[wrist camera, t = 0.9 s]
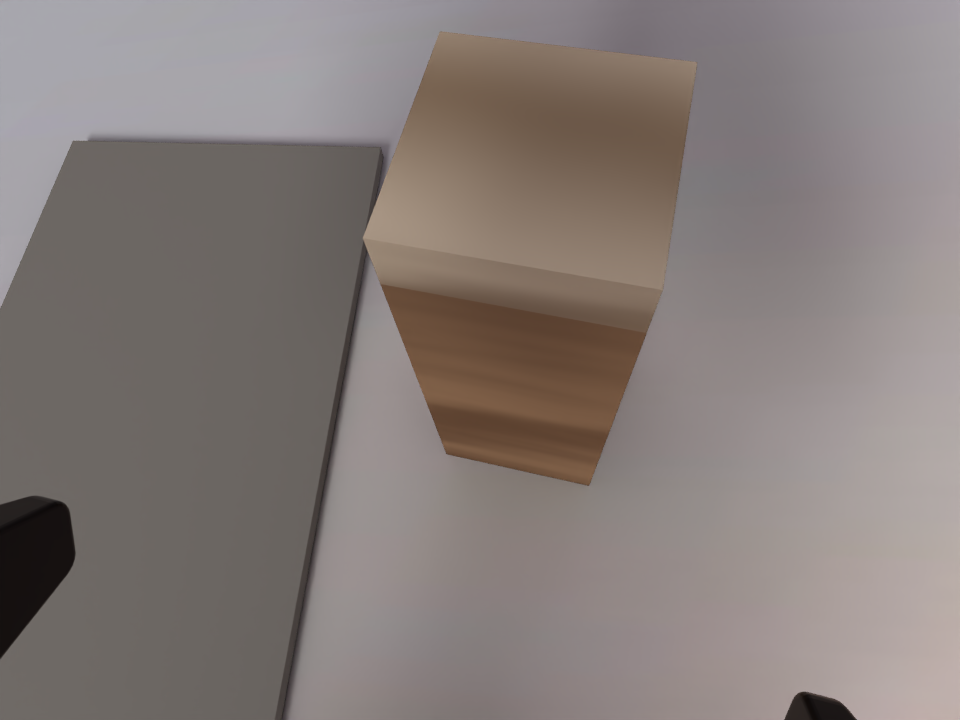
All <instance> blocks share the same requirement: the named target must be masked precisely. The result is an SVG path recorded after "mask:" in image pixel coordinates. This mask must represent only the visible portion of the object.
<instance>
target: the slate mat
mask: <svg viewBox="0 0 960 720" xmlns="http://www.w3.org/2000/svg"><path fill="white" fill-rule="evenodd" d="M382 162H383V154H382V150H381V147H342V146H295V145H249V144H202V143H155V142H108V141H73V142H72V144H71V147H70V149H69V151H68V153H67V156H66V158H65V160H64V163H63V165H62V167H61V170H60V172H59V174H58V177H57V179H56V181H55V184H54V186H53V188H52V190H51V193H50V195H49V197H48V200H47V202H46V204H45V207H44V209H43V211H42V214H41V216H40V218H39V221H38V223H37V225H36V228H35V230H34V232H33V234H32V237H31V239H30V241H29V244H28V246H27V248H26V251H25V253H24V255H23V258H22V260H21V262H20V265H19V267H18V269H17V271H16V274H15V276H14V278H13V281H12V283H11V285H10V288H9V290H8V292H7V295H6V297H5V299H4V302H3V304H2V306H1V309H0V504H4V503H7V502H11V501H14V500H18V499H21V498H25V497H28V496H42V497H46V498H50V499H54V500H58V501H61V502H63V503H65V504H66V505H67V507H68V508H69V510H70V515H71V522H72V529H73V536H74V543H75V550H76V556H75V561H74V564H73V566H72V568H71V570H70V572H69V573H68V575H67V576H66V577H65V578H64V580H63V581H62V582H61V583H60V585H59V586H58V587H57V588H56V590H55V591H54V592H53V593H52V595H51V596H50V597H49V599H48V600H47V601H46V602H45V604H44V605H43V606H42V607H41V609H40V610H39V611H38V612H37V614H36V615H35V616H34V617H33V619H32V620H31V621H30V623H29V624H28V625H27V626H26V628H25V629H24V630H23V631H22V633H21V634H20V635H19V636H18V638H17V639H16V640H15V641H14V643H13V644H12V645H11V646H10V648H9V649H8V650H7V652H6V653H5V654H4V655H3V657H2V658H1V659H0V720H281V719H282V713H283V708H284V702H285V697H286V691H287V686H288V680H289V675H290V669H291V664H292V658H293V653H294V647H295V642H296V636H297V631H298V625H299V620H300V614H301V609H302V603H303V597H304V592H305V586H306V581H307V575H308V570H309V564H310V559H311V553H312V548H313V542H314V537H315V531H316V526H317V520H318V515H319V509H320V504H321V498H322V493H323V487H324V482H325V476H326V471H327V465H328V460H329V454H330V449H331V443H332V438H333V432H334V427H335V421H336V416H337V410H338V405H339V399H340V393H341V388H342V382H343V377H344V371H345V366H346V360H347V355H348V349H349V344H350V338H351V333H352V327H353V322H354V316H355V311H356V305H357V300H358V294H359V289H360V283H361V278H362V272H363V267H364V261H365V256H366V250H367V248H366V245H365V243H364V240H363V236H364V233H365V231H366V228H367V225H368V223H369V220H370V217H371V215H372V212H373V209H374V206H375V200H376V195H377V189H378V184H379V178H380V173H381V167H382Z"/></svg>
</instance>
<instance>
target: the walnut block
mask: <svg viewBox="0 0 960 720" xmlns="http://www.w3.org/2000/svg"><path fill="white" fill-rule="evenodd" d="M696 68H697V62H691V61H683V60H675V59H666V58H658V57H650V56H641V55H633V54H624V53H616V52H608V51H599V50H591V49H583V48H574V47H566V46H557V45H549V44H541V43H532V42H524V41H516V40H507V39H499V38H491V37H482V36H474V35H465V34H457V33H449V32H440V33H439V35H438V38H437V41H436V44H435V46H434V49H433V52H432V54H431V57H430V60H429V62H428V65H427V68H426V70H425V73H424V76H423V78H422V81H421V84H420V86H419V89H418V92H417V94H416V97H415V100H414V102H413V105H412V108H411V110H410V113H409V116H408V118H407V121H406V124H405V126H404V129H403V132H402V134H401V137H400V140H399V143H398V145H397V148H396V151H395V153H394V156H393V159H392V161H391V164H390V167H389V169H388V172H387V175H386V177H385V180H384V183H383V185H382V188H381V191H380V193H379V196H378V199H377V201H376V204H375V207H374V209H373V212H372V215H371V217H370V220H369V223H368V225H367V228H366V231H365V233H364V236H363V240H364V243H365V245H366V248H367V250H368V253H369V256H370V258H371V261H372V263H373V266H374V268H375V271H376V274H377V276H378V279H379V281H380V284H381V286H382V289H383V292H384V294H385V297H386V299H387V302H388V304H389V307H390V310H391V312H392V315H393V317H394V320H395V323H396V325H397V328H398V330H399V333H400V335H401V338H402V341H403V343H404V346H405V348H406V351H407V353H408V356H409V359H410V361H411V364H412V366H413V369H414V371H415V374H416V377H417V379H418V382H419V384H420V387H421V389H422V392H423V395H424V397H425V400H426V402H427V405H428V407H429V410H430V413H431V415H432V418H433V420H434V423H435V426H436V428H437V431H438V433H439V436H440V438H441V441H442V444H443V446H444V449H445V451H446V454H448V455H453V456H458V457H462V458H467V459H471V460H476V461H480V462H485V463H489V464H494V465H498V466H503V467H507V468H512V469H516V470H521V471H525V472H530V473H534V474H539V475H543V476H548V477H552V478H557V479H561V480H566V481H570V482H575V483H579V484H584V485H588V486H589V484H590V482H591V479H592V476H593V474H594V471H595V468H596V466H597V463H598V460H599V458H600V455H601V453H602V450H603V447H604V445H605V442H606V439H607V437H608V434H609V431H610V429H611V426H612V423H613V421H614V418H615V415H616V413H617V410H618V407H619V405H620V402H621V400H622V397H623V394H624V392H625V389H626V386H627V384H628V381H629V378H630V376H631V373H632V370H633V368H634V365H635V362H636V360H637V357H638V354H639V352H640V349H641V346H642V344H643V341H644V339H645V336H646V333H647V331H648V328H649V325H650V323H651V320H652V317H653V315H654V312H655V309H656V307H657V304H658V301H659V299H660V296H661V293H662V291H663V285H664V279H665V272H666V266H667V259H668V252H669V246H670V239H671V233H672V226H673V220H674V213H675V206H676V200H677V193H678V187H679V180H680V173H681V167H682V160H683V154H684V147H685V140H686V134H687V127H688V121H689V114H690V108H691V101H692V94H693V88H694V81H695V75H696Z"/></svg>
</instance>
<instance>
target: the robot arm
mask: <svg viewBox="0 0 960 720" xmlns="http://www.w3.org/2000/svg"><path fill="white" fill-rule="evenodd" d="M75 556H76V550H75V543H74V536H73V529H72V522H71V515H70V510H69V508H68V507H67V505H66V504H65V503H63V502H61V501H58V500H54V499H50V498H46V497H42V496H28V497H25V498H21V499H18V500H14V501H11V502H7V503H4V504H0V659H1V658H2V657H3V655H4V654H5V653H6V652H7V650H8V649H9V648H10V646H11V645H12V644H13V643H14V641H15V640H16V639H17V638H18V636H19V635H20V634H21V633H22V631H23V630H24V629H25V628H26V626H27V625H28V624H29V623H30V621H31V620H32V619H33V617H34V616H35V615H36V614H37V612H38V611H39V610H40V609H41V607H42V606H43V605H44V604H45V602H46V601H47V600H48V599H49V597H50V596H51V595H52V593H53V592H54V591H55V590H56V588H57V587H58V586H59V585H60V583H61V582H62V581H63V580H64V578H65V577H66V576H67V575H68V573H69V572H70V570H71V568H72V566H73V564H74V561H75ZM784 720H857V719H856V718H855V717H854V716H853V715H852V713H851V712H850V711H849V710H848V709H847V708H846V707H845V706H844V705H843V704H842V703H841V702H839V701H837V700H835V699H832V698H828V697H825V696H821V695H817V694H813V693H809V692H800V693H798V694H797V695H796V696H795V697H794V699H793V700H792V703H791V705H790V708H789V710H788V712H787V715H786V717H785V719H784Z"/></svg>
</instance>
